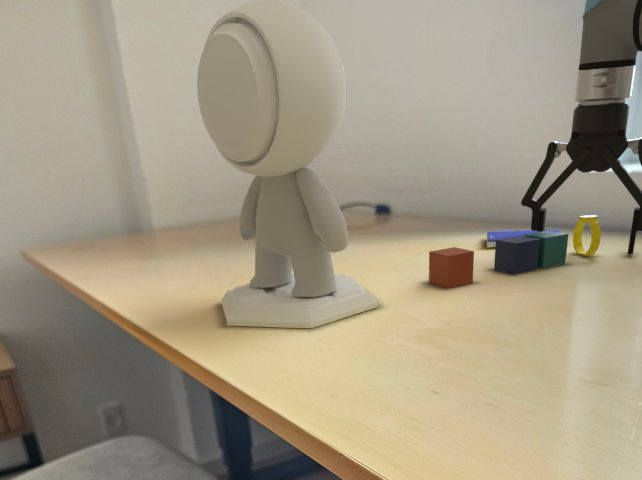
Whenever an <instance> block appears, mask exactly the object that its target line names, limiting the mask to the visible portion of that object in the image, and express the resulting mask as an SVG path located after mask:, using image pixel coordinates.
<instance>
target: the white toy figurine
mask: <svg viewBox="0 0 642 480" xmlns="http://www.w3.org/2000/svg"><path fill="white" fill-rule="evenodd" d="M197 68H198V69H197V79H196V80H197V82H196V83H197V84H196V85H197V87H196V89H197V98H198V99H197V100H198V106H199V111H200V115H201V119H202V122H203V125H204V127H205V129H206V132H207V134H208V136H209V137H210V139H211V140H212V142H213V143H214V145H215V147H216V149H217V151H218V152H219V153H220V155H221V156H222V158H223V159H224V160H225V161H226V162H227V163H228V164H229V165H230V166H232V167H233V168H235V169H237V170H239V171H241V172H243V173H245V174H249V175H252V176H254V177H253V179H252V181H251V182H250V185H249V186H248V189H247V191H246V194H245V195H244V199H243V203H242V205H241V209H240V213H239V234H240V237H241V239H242V240H243V241H251V240H255V241H254V242H255V245H254V246H255V247H254V275H253V277H252V278H250V280H249V283H246V284H243V285H238V286H234V288H233V289H229V290H227V291H226V292H225V293H224V295H223V296H222V298H221V299H220V301H221V305H222V309H223V314H224V317H225V321H226V325H227V326H229V327H230V326H231V327H254V328H255V327H256V328H257V327H259V328H261V327H262V328H287V329H289V328H290V329H314V328H317V327H321V326H323V325H326V324H327V325H328V324H330V323H333V322H336V321H340V320H342V319H345V318H349V317H351V316H355V315H357V314H361V313H364V312H367V311H369V310H373V309H376V308H378V306H379V305H378V301H377V300H376V299H375V297H374V296H373V295H372V294H371V293H370V292H369V291H368V290H367V289H365V288H364V287H363V286H362V285H361V283H360V284H359V282H358V281H356V279H355V278H353V277H352V276H346V275H345V274H335V270H334V265H333V259H332V253H333V254H334V253H338V252H342V251H345V250H346V249H347V247H348V244H349V232H348V226H347V223H346V219H345V217H344V214H343V212H342V209H341V208H340V205H339V203H338V202H337V200H336V198H335V196H334V195H333V193H332V191H331V190H330V188H329V187H328V186H327V184H326V182H325V181H324V179H322V177H321V176H320V175H318V173H317V172H316V171H314V170H313V169H311V168H309V166H310V165H311V164H313V163H314V162H316V161H317V160H318V159H319V158H320V157H321V156H322V155H323V154H324V153H325V152H326V151H327V150H328V148H329V147H330V145H332V143H333V141H334V140H335V138H336V136H337V134H338V132H339V130H340V128H341V124H342V122H343V119H344V116H345V112H346V107H347V106H346V105H347V98H348V97H347V95H348V94H347V92H348V91H347V90H348V89H347V88H348V87H347V86H348V85H347V77H346V71H345V66H344V62H343V59H342V57H341V55H340V52H339V49H338V47H337V45H336V43H335V42H334V40H333V38H332V37H331V35H330V34H329V32H328V31H327V30H326V29H325V27H324V26H323V25H322V24H321V23H320V22H319V21H317V20H316V19H315V18H314V17H313V16H312V15H310V13H308V12H306V11H304V10H303V9H301V8H299V7H298V6H295V5H292V4H288V3H286V2H283V1H278V0H277V1H276V0H254V1H250V2H249V1H248V2H246V3H242V4H240V5H238V6H236V7H233V8H231V9H230V10H229V11H226V13H224V14H223V15H222V16H221V17H220V18H219V19H218V20H217V21H215V23H214V25H212V27H211V29H210V31H209V33H208V36H207V38H206V41H205V44H204V47H203V50H202V53H201V55H200V59H199V63H198V67H197Z"/></svg>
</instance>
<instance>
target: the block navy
mask: <svg viewBox="0 0 642 480" xmlns="http://www.w3.org/2000/svg"><path fill="white" fill-rule="evenodd" d="M539 244H540V239H536V238H530V237H524V236H514V237H508V238H503V239H497V240H496V245H495V247H494V265H493V266H494V267H493V270H494V271H498V272H501V273H506V274H510V275H518V274H523V273H524V274H525V273H528V272H533V271H537V270H538V269H539V268H538V256H539Z"/></svg>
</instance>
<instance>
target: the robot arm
mask: <svg viewBox="0 0 642 480" xmlns="http://www.w3.org/2000/svg"><path fill="white" fill-rule="evenodd" d="M584 6H585V7H584V12H583V14H582V21H583V22H582V31H581V33H582V34H581V41H580V43H581V44H580V54H579V64H578V71H577V77H576V85H575V86H576V87H575V95H574V101H575V102H577V103H578V104H577V106H575V107H574V109H573V113H572V114H573V115H572V123H571V131H570V132H571V133H570V138H569V141H568V142H558V141H557V140H552V141H550V142H549V143H548V144H547V148H546V149H547V150H546V153H545V158H544V159H543V161H542V163H541V165H540V167H539V169H538V171H537V172H536V174H535V176H534V178H533V180H531V182H530V185H529V187H528V188H527V190H526V191H525V194H524V195H523V197H522V199H521V202H520V204H521V206H523V207H526V208H529V209H531V222H530V230H532V231H538V232H542V231H544V230H546V229H545V228H546V218H547V208H542V207H543V205H544V204H545V203H546V202H547V201H548V200H549V199H550V198H551V197H552V196H553V194H555V193H556V191H558V189H559V188H560V187H561V186H562V185H563V184H564V183H565V182H566V181H567V179H569V177H570V176H572V175H573V173H574V172H575V171H576V170H577V171H579V172H580V173H591V172H596V173H604V172H607V171H609V170H610V169H611V170H612V171H613V173H614V174H615V175H616V177H617V178H618V179H619V181H620V182H621V183H622V185H623V186H624V187H625V189H626V190H627V192H628V193H629V194H630V196H631V197H632V198H633V200H634V201H635V202H636V204H637V205H638V206H639V207H634V209H633V216H632V222H631V227H630V235H629V241H628V249H627V255H634V249H635V244H636V237H637V232H642V189H641V187H640V186H639V184H637V183H636V181H635V180H634V178H633V177H632V176H631V174H630V173H629V172H628V170H627V169H626V167H625V166H624V164H623V163H622V162H621V160H620V158H621V156H622V155H623V154H624V153H625V152H626V151H627V149H630V150H631V152H632V154H633V155H638V156H637V157H638V160H639V164H640V167H642V136H641V137H640V138H633V139H627V129H628V121H629V115H630V107H631V106H630V105H629V104H630V103H629V102H627V99H630V98H631V97H632V92H633V88H634V87H633V86H634V79H635V73H636V64H637V57H638V53H639V52H642V0H585V5H584ZM564 152H566V153H567V155H568V157H569V158H570V160H571V162H570V164H569V165H567V167H566V168H565V169H564V170H563V171H562V172H561V173H560V174H559V175H558V176H557V178H555V180H554V181H553V182H552V183H551V184H550V185H549V186H548V187H547V189H545V191H544V192H543V193H542V194H541V195H540V196H539V197H538V198H537V199H535V198H534V197H535V196H536V195H535V194H536V193H537V191H538V189H539V188H540V186H541V184H542V183H543V181H544V179H545V178H546V175H547V174H548V172H549V170H550V169H551V167H552V165H553V163H554V161H555V160H556V159H557V158H559V157H560V156H561V155H562V153H564Z"/></svg>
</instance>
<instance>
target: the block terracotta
mask: <svg viewBox="0 0 642 480" xmlns="http://www.w3.org/2000/svg"><path fill="white" fill-rule="evenodd" d="M428 258H429V259H428V284H432V285H435V286H438V287H443V288H445V289H450V288H455V287H461V286H465V285H470V284H473V282H474V266H475V265H474V264H475V262H474V259H475V251H474V250H470V249H465V248H461V247H456V246H453V247H447V248H442V249H435V250H431V251H429V252H428Z"/></svg>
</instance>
